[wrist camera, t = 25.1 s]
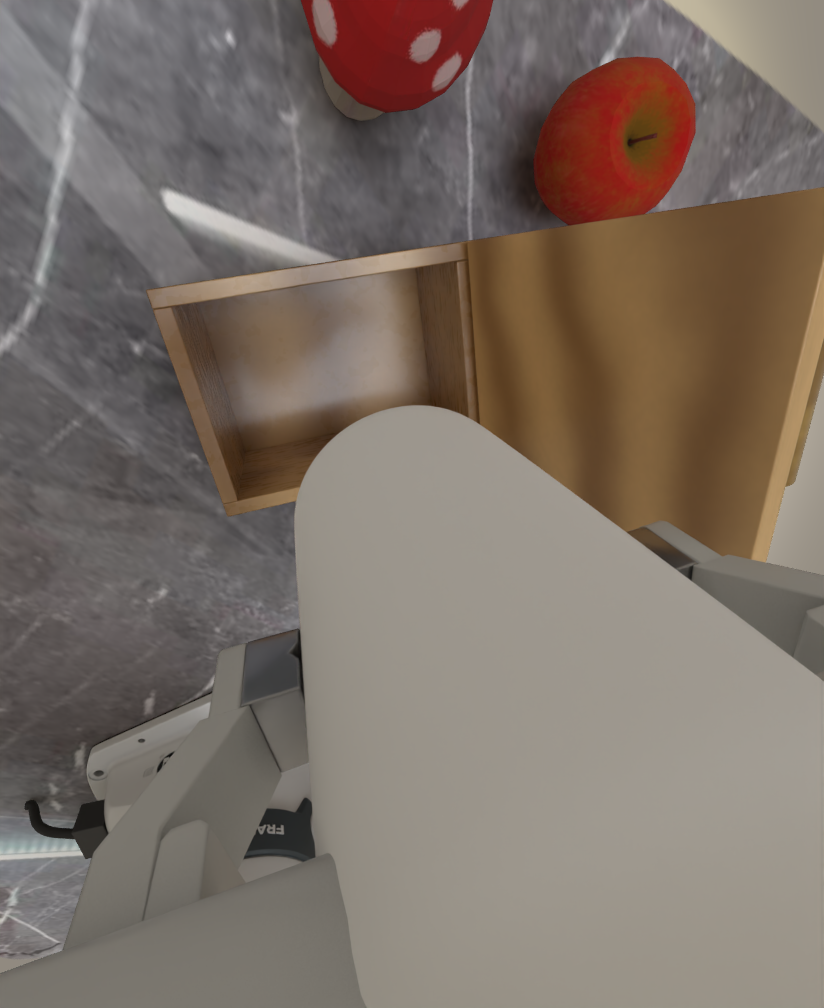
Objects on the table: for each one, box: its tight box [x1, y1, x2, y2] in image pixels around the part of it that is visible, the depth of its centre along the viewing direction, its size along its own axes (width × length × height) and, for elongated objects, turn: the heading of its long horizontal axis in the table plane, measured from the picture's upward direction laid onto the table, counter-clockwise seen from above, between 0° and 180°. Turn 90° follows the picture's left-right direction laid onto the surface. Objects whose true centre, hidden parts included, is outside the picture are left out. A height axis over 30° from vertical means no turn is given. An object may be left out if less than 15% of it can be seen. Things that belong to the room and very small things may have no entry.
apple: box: [533, 57, 695, 225], centre depth 30 cm, size 9×8×11 cm
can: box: [294, 405, 824, 1008], centre depth 9 cm, size 6×6×12 cm
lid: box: [467, 187, 824, 563], centre depth 22 cm, size 18×13×5 cm
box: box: [146, 241, 480, 516], centre depth 32 cm, size 17×13×10 cm
